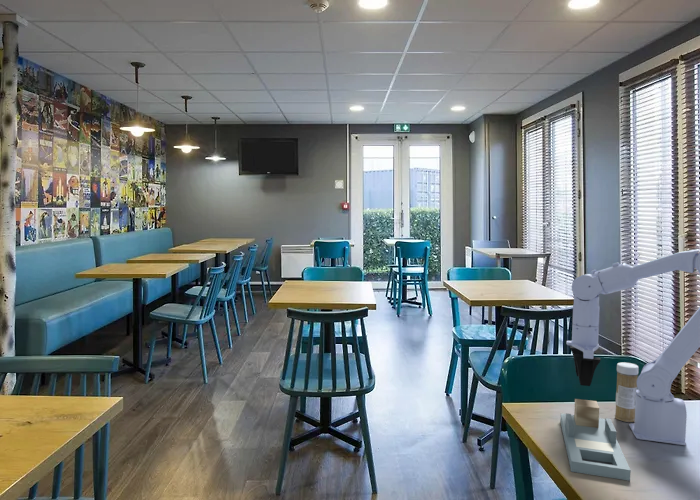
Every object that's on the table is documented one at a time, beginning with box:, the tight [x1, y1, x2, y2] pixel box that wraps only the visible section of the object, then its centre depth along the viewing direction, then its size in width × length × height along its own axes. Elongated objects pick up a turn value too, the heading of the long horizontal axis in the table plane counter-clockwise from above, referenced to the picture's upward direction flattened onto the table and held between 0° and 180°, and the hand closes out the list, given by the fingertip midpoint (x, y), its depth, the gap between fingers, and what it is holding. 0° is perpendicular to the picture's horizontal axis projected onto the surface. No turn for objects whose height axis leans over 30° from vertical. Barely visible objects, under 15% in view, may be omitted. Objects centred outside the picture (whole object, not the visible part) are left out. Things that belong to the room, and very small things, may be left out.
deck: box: [560, 412, 631, 481], centre depth 105 cm, size 10×25×4 cm, turn 162°
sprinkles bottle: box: [614, 361, 640, 423], centre depth 121 cm, size 5×5×13 cm
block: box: [573, 398, 600, 428], centre depth 113 cm, size 4×4×4 cm
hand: (583, 380), depth 120 cm, fingers open, 6 cm apart
